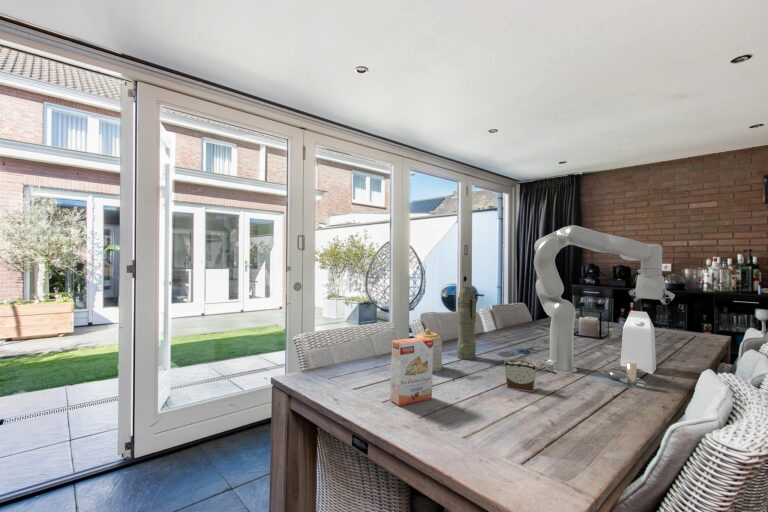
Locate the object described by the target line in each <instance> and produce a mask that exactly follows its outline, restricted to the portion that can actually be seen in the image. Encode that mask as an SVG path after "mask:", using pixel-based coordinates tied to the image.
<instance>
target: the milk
mask: <svg viewBox="0 0 768 512" xmlns="http://www.w3.org/2000/svg"><path fill="white" fill-rule="evenodd" d="M655 336H656V335H655V326H654V324H653V322H652V320H651V318H650V316H649V314H648V312H647V311H636V310H630V312H629V314H628V316H627V317H626V320H625V322H624V324H623V327H622V336H621V338H622V339H621V352H620V363H619V364H620V366H621V367H626V368H627V362H632V363H636V364H637V370H640V371H642V372H645V373H648V374H650V375H653V374H654V372H656V369H657V356H656V337H655Z"/></svg>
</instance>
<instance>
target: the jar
mask: <svg viewBox="0 0 768 512" xmlns="http://www.w3.org/2000/svg"><path fill="white" fill-rule="evenodd" d="M414 336H415V337H414V338H419V337H426V338H429V339H432V340H433V371H432V373H435V372H439V371H441V370H442V367H443V348H442V344H443V340H441V335H439V334H438V333H436V332H432V329H430V328H426V329H425V330H424V331H423V332H418V334H416V335H414Z"/></svg>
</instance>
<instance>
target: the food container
mask: <svg viewBox="0 0 768 512" xmlns="http://www.w3.org/2000/svg"><path fill="white" fill-rule="evenodd" d="M502 367H504V370H505V371H504V373H505V381H506V382H505V383H506V388H507V389H513V390H518V391H525V392H534V391H535V390H534V389H535V380H536V373H537V372H538V371H539V370H538V366H537V364H536V363H535V362H533V361H530V360H526V359H519V358H515V359H514V358H513V359H512V358H511V359H509V358H508V359H506V360H504V362H503V365H502Z"/></svg>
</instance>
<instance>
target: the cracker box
mask: <svg viewBox="0 0 768 512" xmlns="http://www.w3.org/2000/svg"><path fill="white" fill-rule="evenodd" d="M390 361H391V363H390V369H391V370H390V402H392V403H394V404H395V405H397V406H398V407H400V406H406V405H410V404H415V403H419V402H423V401H424V402H425V401H428V400H431V399H433V372H432V371H433V340H432V339H429V338H426V337H419V338H416V337H412V338H401V339H395V340H394V339H393V340H392V341H391V360H390Z"/></svg>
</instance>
